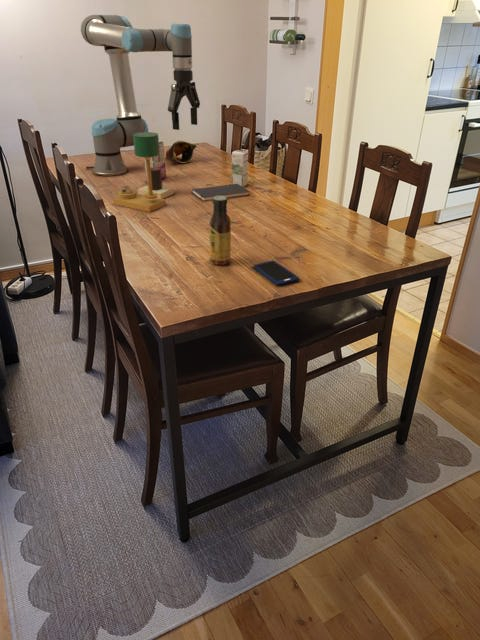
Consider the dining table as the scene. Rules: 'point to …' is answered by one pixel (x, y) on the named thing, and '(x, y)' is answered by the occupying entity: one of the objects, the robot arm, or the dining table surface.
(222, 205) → the sauce bottle
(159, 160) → the candy bar box
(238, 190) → the notebook
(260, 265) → the cell phone
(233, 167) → the syrup box
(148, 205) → the lamp base
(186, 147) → the pot
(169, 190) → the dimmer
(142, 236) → the dining table surface
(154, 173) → the dark brown cylinder
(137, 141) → the lamp
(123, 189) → the lamp switch
